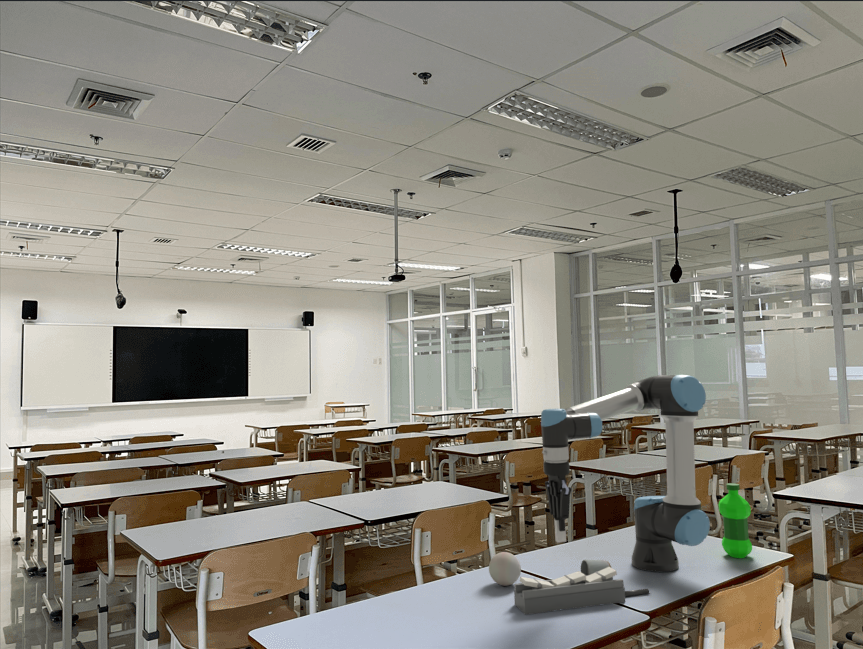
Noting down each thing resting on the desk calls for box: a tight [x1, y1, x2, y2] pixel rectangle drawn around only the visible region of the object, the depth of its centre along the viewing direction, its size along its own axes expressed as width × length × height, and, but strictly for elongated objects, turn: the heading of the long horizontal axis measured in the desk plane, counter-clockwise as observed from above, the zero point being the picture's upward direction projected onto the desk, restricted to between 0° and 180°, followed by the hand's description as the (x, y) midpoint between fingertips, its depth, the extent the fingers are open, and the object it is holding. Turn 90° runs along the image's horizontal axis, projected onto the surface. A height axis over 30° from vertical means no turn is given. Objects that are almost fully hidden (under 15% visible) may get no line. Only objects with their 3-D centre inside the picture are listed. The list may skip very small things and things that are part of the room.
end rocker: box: [519, 576, 554, 588], centre depth 181 cm, size 9×4×1 cm, turn 104°
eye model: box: [488, 551, 522, 587], centre depth 200 cm, size 10×10×10 cm
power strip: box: [513, 575, 650, 616], centre depth 184 cm, size 41×8×6 cm, turn 104°
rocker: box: [584, 566, 618, 583], centre depth 185 cm, size 9×4×1 cm, turn 104°
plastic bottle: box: [717, 482, 753, 559], centre depth 224 cm, size 10×10×25 cm
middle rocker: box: [551, 570, 586, 587], centre depth 183 cm, size 9×4×1 cm, turn 104°
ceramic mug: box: [580, 559, 613, 576], centre depth 200 cm, size 11×8×8 cm
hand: (560, 541), depth 187 cm, fingers closed
